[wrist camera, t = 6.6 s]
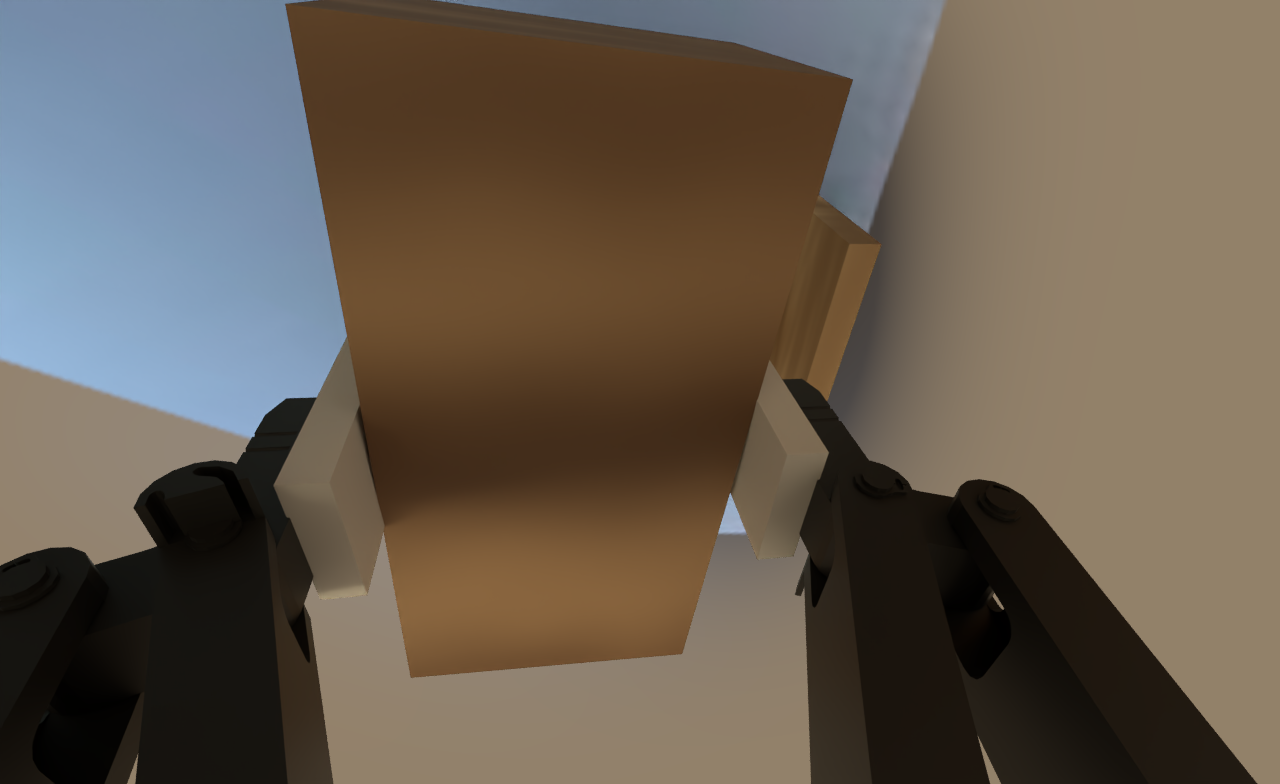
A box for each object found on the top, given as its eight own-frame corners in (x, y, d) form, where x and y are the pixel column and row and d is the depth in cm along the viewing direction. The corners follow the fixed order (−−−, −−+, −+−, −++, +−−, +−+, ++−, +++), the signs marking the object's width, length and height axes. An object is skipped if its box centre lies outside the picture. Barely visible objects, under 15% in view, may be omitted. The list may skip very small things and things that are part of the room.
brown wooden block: (647, 506, 20) (682, 653, 16) (437, 512, 19) (410, 677, 14) (734, 43, 12) (852, 79, 8) (382, -7, 11) (285, 4, 6)
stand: (419, 398, 32) (401, 491, 26) (378, 176, 25) (341, 240, 19) (760, 384, 36) (805, 462, 30) (809, 188, 28) (881, 244, 23)
